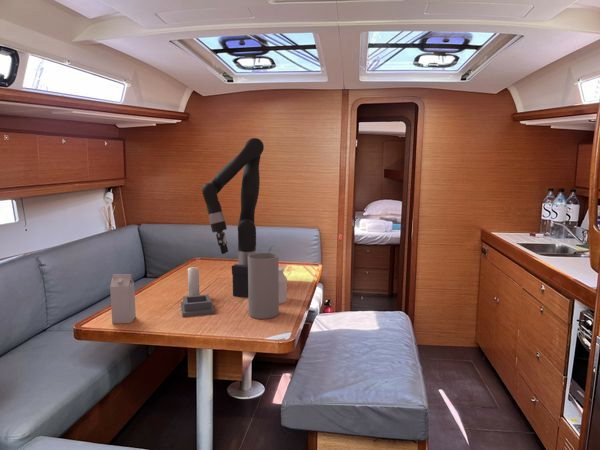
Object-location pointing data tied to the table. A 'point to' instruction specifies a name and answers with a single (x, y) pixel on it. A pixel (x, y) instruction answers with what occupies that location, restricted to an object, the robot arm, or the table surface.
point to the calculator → (240, 280)
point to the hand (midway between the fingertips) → (225, 253)
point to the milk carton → (122, 298)
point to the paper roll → (193, 281)
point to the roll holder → (196, 305)
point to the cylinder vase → (263, 285)
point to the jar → (282, 286)
